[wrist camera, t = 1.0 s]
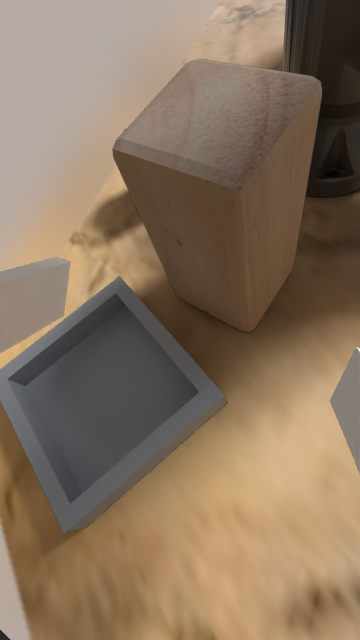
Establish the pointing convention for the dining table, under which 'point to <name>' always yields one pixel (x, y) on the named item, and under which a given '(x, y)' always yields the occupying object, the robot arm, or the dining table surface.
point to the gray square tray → (103, 403)
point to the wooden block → (224, 181)
